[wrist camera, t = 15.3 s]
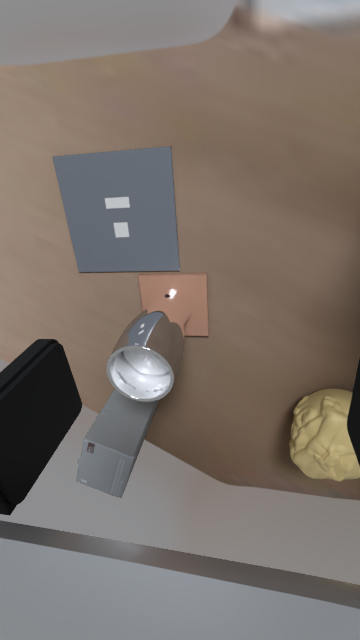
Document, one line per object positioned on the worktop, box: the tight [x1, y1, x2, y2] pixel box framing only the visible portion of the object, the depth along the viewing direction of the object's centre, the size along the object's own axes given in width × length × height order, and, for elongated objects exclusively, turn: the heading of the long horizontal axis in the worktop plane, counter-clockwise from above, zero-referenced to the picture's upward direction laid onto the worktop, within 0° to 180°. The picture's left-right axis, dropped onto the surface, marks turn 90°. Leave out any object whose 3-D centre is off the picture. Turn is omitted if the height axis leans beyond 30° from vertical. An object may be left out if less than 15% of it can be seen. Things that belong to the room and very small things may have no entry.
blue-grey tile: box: [53, 146, 180, 272], centre depth 38 cm, size 14×14×1 cm
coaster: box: [138, 273, 209, 336], centre depth 42 cm, size 9×9×1 cm
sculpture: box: [289, 388, 360, 481], centre depth 42 cm, size 12×12×11 cm
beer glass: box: [106, 287, 191, 402], centre depth 35 cm, size 7×7×15 cm
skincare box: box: [76, 389, 159, 498], centre depth 43 cm, size 8×7×16 cm
